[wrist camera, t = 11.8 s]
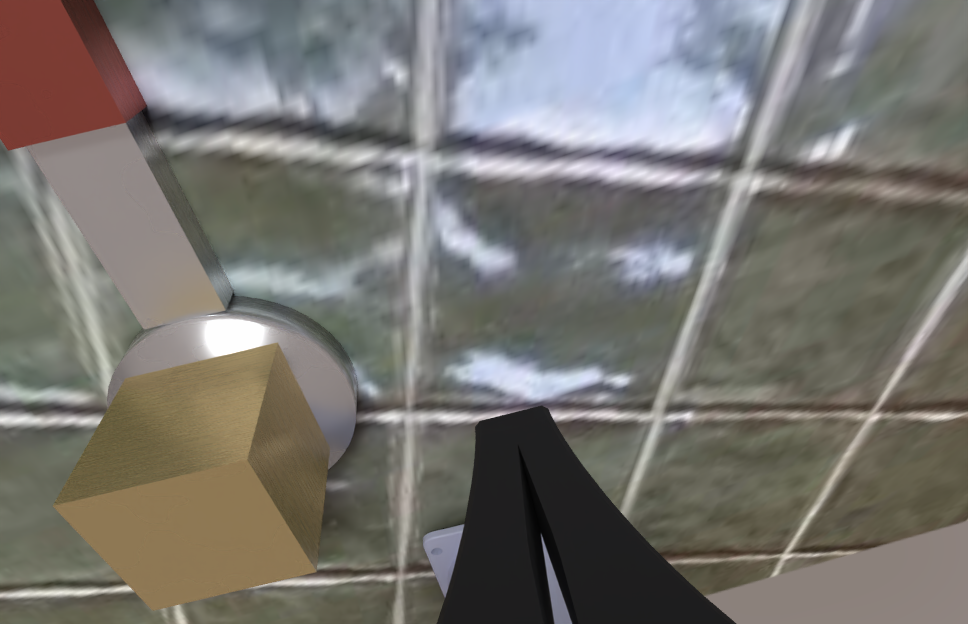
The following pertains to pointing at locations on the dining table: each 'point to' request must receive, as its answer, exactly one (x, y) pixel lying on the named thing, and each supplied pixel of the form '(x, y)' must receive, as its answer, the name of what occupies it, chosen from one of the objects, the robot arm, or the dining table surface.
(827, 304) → the dining table surface
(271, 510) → the brushed tan cube
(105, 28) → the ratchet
